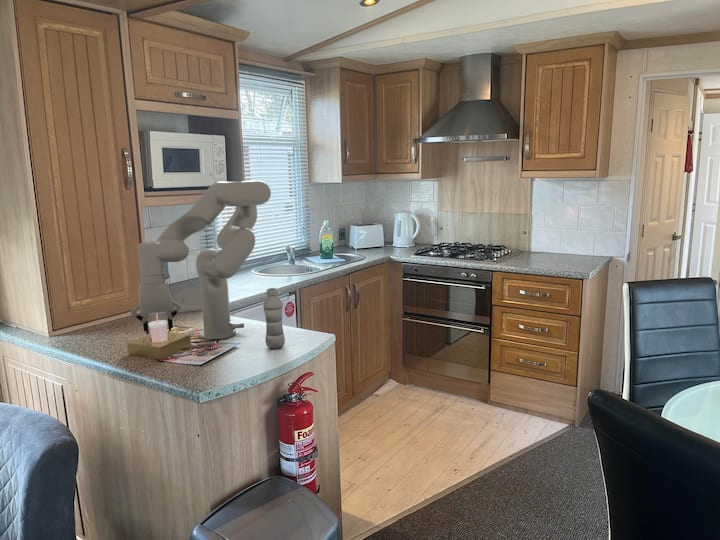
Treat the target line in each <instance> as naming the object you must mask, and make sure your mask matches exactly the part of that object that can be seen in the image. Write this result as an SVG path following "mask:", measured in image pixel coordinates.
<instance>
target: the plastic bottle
mask: <svg viewBox="0 0 720 540" xmlns="http://www.w3.org/2000/svg"><path fill="white" fill-rule="evenodd" d="M278 289H279V288H276V287H271V288H267V289H266V296H267V297H266V298H265V299H264V302H263V310H264V311H263V312H264V317H265V323H266V325H265V327H266V330H265V331H266V332H265V345H266V346H267V347H268V349H279V348H282V347H284V345H285V343H286V342H285V341H286V337H285V333H284V329H283V328H284V327H283V308H284V307H283V305H284V304H283V301H282V300H281V298H280V297H279V296H278V295H279V290H278Z"/></svg>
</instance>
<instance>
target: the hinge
mask: <svg viewBox="0 0 720 540" xmlns="http://www.w3.org/2000/svg"><path fill="white" fill-rule="evenodd" d="M175 302H176V303H178V304H179V305H181V309H180V310H179V311H178V312H177V314H179V313H185V312H186V313H187V312H193V311H194V312H195V311H196V312H197V311H202V301H201V289H200V288H199V287H198V288H196V287H195V288H189V289H184V290H183V291H179V292H178V293H177V294H176V300H175Z"/></svg>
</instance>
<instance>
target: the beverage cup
mask: <svg viewBox="0 0 720 540" xmlns="http://www.w3.org/2000/svg"><path fill="white" fill-rule="evenodd" d="M158 315H159V313H157V314H155V316H156V317H155V318H156V320H154V321H153V320H152V321H150V322H148V328H149V332H150V334H151V338H152V342H153V343H155V342H163V341H166V340H168V336H167V332H168V320H166V319H165V320H164V319H162V320H160V319H159V316H158Z"/></svg>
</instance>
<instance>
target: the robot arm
mask: <svg viewBox="0 0 720 540" xmlns="http://www.w3.org/2000/svg"><path fill="white" fill-rule="evenodd" d="M271 196H272V191H271V188H270V186H269V184H267V182H265V181H264V180H244V181H243V180H242V181H217V182H214V183H212V184H211V185H210V186H209V187H208V188H207V189H206V191H205V192H203V194H202V195H201V196H200V197H199V198H198V200H197V201H196V202H195V203H194V205H193V206H192V207H191V208H190V209H189V210H188V211H187V212H185V213H184V214H183V215H181V216H180V217H179V218H177V219H175V220H174V221H173V222H172V223H171V224H170V225H169V226H168V227H167V228H166V229H164V231H163V232H162V233H161V234H160V236H159V237H158V238H157V239H156V241H153V240H152V241H144V242H140V243H138V244H137V248H136V249H137V256H138V257H137V259H138V266H139V275H140V284H139V285H138V303H137V305H135V307H134V308H133V309H132V310H131V311H130V314H131V315H132V316H133V317H135V318H136V319H137V320H139V321H140V322H141V323H142V326H143V333H144V332H145V333H146V335H149V334H150V333H149V332H150V328H149V325H148V323H149V322H148V319H147V318H148V316H149V315H156V314H157V313H158V314H164V313H165V314H166V316H167V322H168V323H167V329H168V332H172V329H174V326H173V323H174V322H173V319H174V318H175V316H177V314H178V313H179V312H178V311H179V310H180V309H181V305H179V304H178V303H176V300H173V299H172V293H171V292H172V291H171V288H170V283H169V281H168V279H170V278H171V275H170V274H167V273H166V271H165V264H164V263H179V262H182V261H184V260H186V259H187V257H188V256H189V253H190V248H189V246H188V244H187V243H186V242H185V240H187V239H188V238H189V237H190V236H192V235H194V234H197V233H198V232H201V231H203V230H205V229H208V228H209V227H210V226H211V225H212V224H213V222H214V221H215V220H216V219H217V217H218V216H219V215H220V214H221V213H222V212H223V210H224V209H225V208H226V207H235V210H234V212H233V214H232V215H231V217H230V218H229V219H228V220H227V222H226V223H225V225H224V226H223V227H222V229H221V230H220V231H219V233H218V234H217V237H216V245H217V246H218V248H219V249H215V248H206V249H204V250H202V251H201V252H199V254H198V255H197V256H196V259H195V268H196V272H197V276H198V281H199V287H200V289H201V301H202V310H201V311H202V323H203V330H202V331H200V333H199V337H200V338H201V337H202V338H205V339H220V340H225V339H229V338H232V337H233V336H235V335H236V333H237V332H236V331H237V330H236V329H242V328H245V324H244V322H239V321H236V322H233V321H232V319H231V311H230V310H231V309H230V300H229V286H228V284H229V283H228V281H227V279H231V278H232V277H233V276H234V275H236V273H238V271H239V270H240V268H241V267H242V266H243V264H244V263H245V262H246V260H247V259H248V258H249V256H250V255H251V253H252V252H253V251H254V249H255V246H256V237H255V234H254V232H253V231H252V230H253V228H254V226H255V224H256V222H257V220H258V208H257V206H262V205H265V204H266V203H267V202H268V201H269V200H270V199H271ZM173 307H175V308H174V310H173ZM172 310H173V311H172ZM138 311H139V312H140V313H138ZM177 312H178V313H177ZM202 338H201V339H202ZM205 339H204V340H205Z"/></svg>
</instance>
